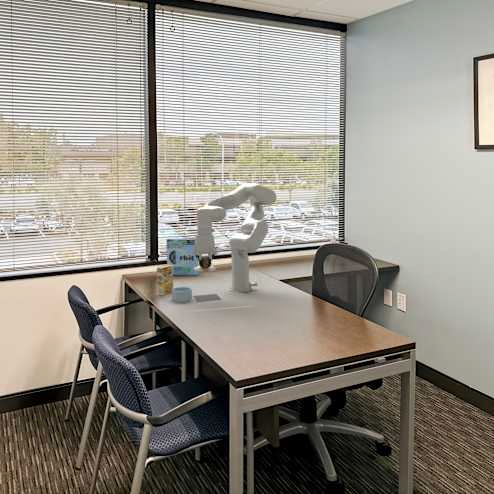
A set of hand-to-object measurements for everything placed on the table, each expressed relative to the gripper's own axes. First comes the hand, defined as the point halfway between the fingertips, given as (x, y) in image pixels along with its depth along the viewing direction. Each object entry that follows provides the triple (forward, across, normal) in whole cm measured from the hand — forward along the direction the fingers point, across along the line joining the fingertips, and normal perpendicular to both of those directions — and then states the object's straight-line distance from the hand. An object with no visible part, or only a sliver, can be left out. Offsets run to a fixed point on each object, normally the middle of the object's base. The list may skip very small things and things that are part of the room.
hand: (205, 266), depth 276 cm
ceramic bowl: (+17, +12, -1) cm, 21 cm away
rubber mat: (+17, -1, 0) cm, 17 cm away
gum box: (+17, 0, -65) cm, 67 cm away
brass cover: (+1, 0, 0) cm, 1 cm away
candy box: (+18, +18, -18) cm, 31 cm away
